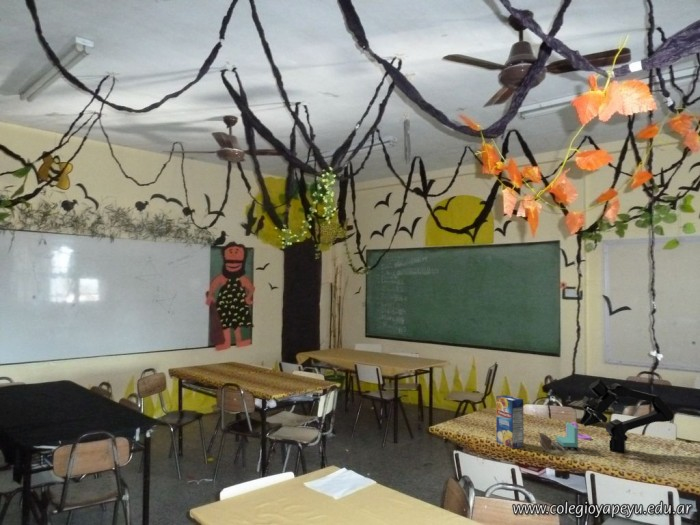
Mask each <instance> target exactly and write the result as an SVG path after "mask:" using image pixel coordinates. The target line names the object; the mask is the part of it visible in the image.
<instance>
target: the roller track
mask: <svg viewBox="0 0 700 525" xmlns="http://www.w3.org/2000/svg"><path fill="white" fill-rule="evenodd" d="M538 436H539V442H538V446H539V445H540V447H541V449H543V451H544V452H546V453H553V452H556V453H557V452H558V453H557V454H559V453H560V454H582V455H583V454H585V451H584V450H582V449H581V448H580V447H579V446H578V447H563V446H562V445H561V444H559V443H558V442H557V441H556V442H555V441H554V440H552V439H551V438H550V437H548V435H546V434H545V433H544V432H539V435H538ZM556 453H555V454H556Z"/></svg>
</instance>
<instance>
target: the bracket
mask: <svg viewBox="0 0 700 525" xmlns="http://www.w3.org/2000/svg"><path fill="white" fill-rule="evenodd" d="M570 423H571V424H572V425H574V426H575V427H577V428H578V429H579V426H578V425H579V424H578V422H576V421H573V422H570ZM565 435H566V436H567V428H566V427H565ZM579 438H580V440H582V439H584V440H583V441H591V440H592V437H591V435H587V434H583V433H579V432H578V439H579Z"/></svg>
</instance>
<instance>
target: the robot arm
mask: <svg viewBox="0 0 700 525" xmlns="http://www.w3.org/2000/svg"><path fill="white" fill-rule="evenodd" d="M588 388H589V389H590V390H591V391H592V392H593V394H595V395H596V396H597V397H600V398H599V399H596V398H594V397H590V398H589V397H587V396H584V397H583V398H582V403H583V404H582V405H581V407H582V408H583V415H582V417H581V419H580V421H579V424H581V425H583V426H584V427H587V426H591V425H594V424H599V423H601V422H602V423H603V424H605V423H606V425H605V430H606V432H607V433H608V435H609V437H610V439H609V451H610V452H615V453H620V454H625V453H626V452H627V449H626V447H627V446H626V443H627V441H628V438H629V437H628V436H627V434H626V433H627V432H628V431H630V430H634V429H637V428H640V427H644V426H646V425H649V424H653V423H666V422H670V421H673V420H674V414H675V413H674V412H673V411H672V410H671V409H670V408H669V407H668V406H667V404H665V402H664V401H663V400H662V398H661V397H660V396H659V395H656V394H651V393H648V392H642V391H639V390H635V389H631V388H628V387H627V386H624V385H621V384H619V383H616V382H615V383H612V384H611V385H605V383H604V382H603V381H602V379H597V380H595V381H593V382H591V383H590V385H589V386H588ZM619 397H620V398H621V397H622V398H634V399H638V400H641V401H645V402H650V403H651V405H652V408H653V409H652V411H651V412H649V413H646V414H644V415H639V416H638V417H635V418H634V417H633V418H630V419H627V420H624V421H623V420H619V419H618V418H615V419H614V420H609V421H608V417H607V416H606V415H605V414H604V413H605V412H609V411H610V409H609V408H611V406H612V405H613V404H618V405H620V404H621V401H620V398H619ZM607 422H608V423H607Z"/></svg>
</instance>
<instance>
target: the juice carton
mask: <svg viewBox="0 0 700 525" xmlns="http://www.w3.org/2000/svg"><path fill="white" fill-rule="evenodd" d="M495 398H496V401H495V402H496V413H495V414H496V420H495V421H496V425H495V426H496V443H498V444H500V445H503V446H506V447H508V448H510V449H517V448H523V447H524V445H525V444H524V441H525V439H524V431H525V430H524V399H523V398H519V397H516V396H512V395H507V394H506V395H496V396H495Z"/></svg>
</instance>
